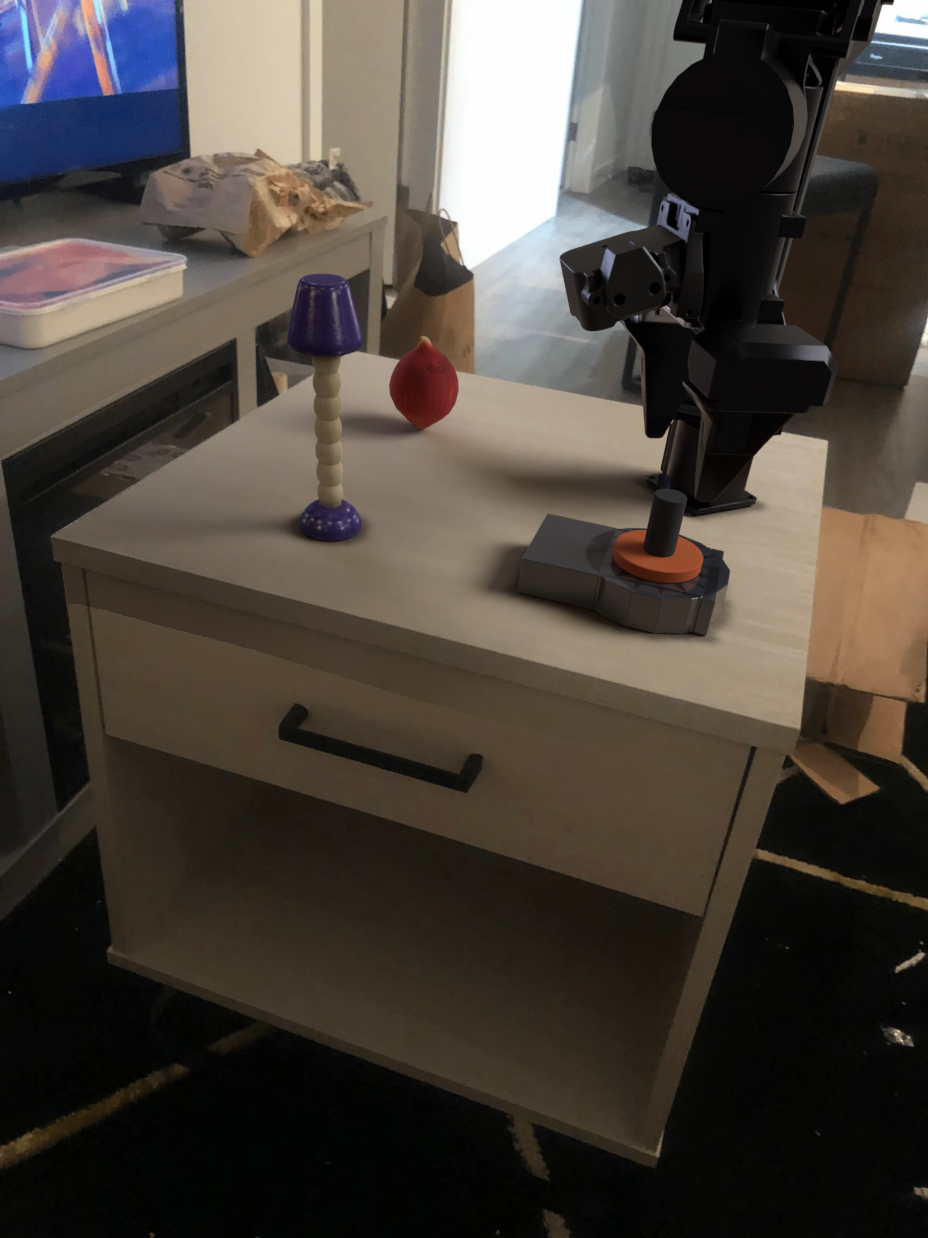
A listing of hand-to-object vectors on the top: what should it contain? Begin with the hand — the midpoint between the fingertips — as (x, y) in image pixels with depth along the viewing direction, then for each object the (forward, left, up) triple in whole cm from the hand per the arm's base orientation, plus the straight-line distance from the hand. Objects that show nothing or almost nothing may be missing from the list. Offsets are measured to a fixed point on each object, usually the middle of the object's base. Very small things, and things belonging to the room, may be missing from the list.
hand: (677, 467), depth 57 cm
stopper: (0, 0, -8) cm, 8 cm away
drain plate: (+1, +1, -9) cm, 9 cm away
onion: (+30, +2, -9) cm, 31 cm away
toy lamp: (+15, +16, -9) cm, 24 cm away
